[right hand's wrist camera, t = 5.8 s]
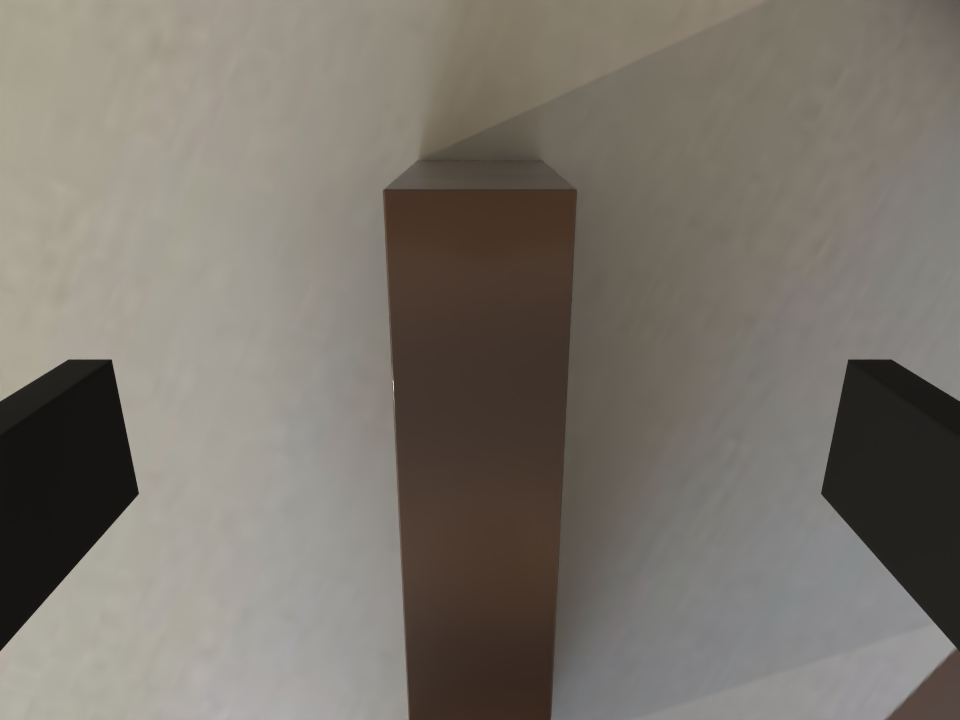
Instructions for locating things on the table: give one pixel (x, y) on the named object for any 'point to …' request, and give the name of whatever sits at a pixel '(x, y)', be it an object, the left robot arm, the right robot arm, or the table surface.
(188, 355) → the table surface
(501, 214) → the walnut box
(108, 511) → the right robot arm
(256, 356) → the table surface
